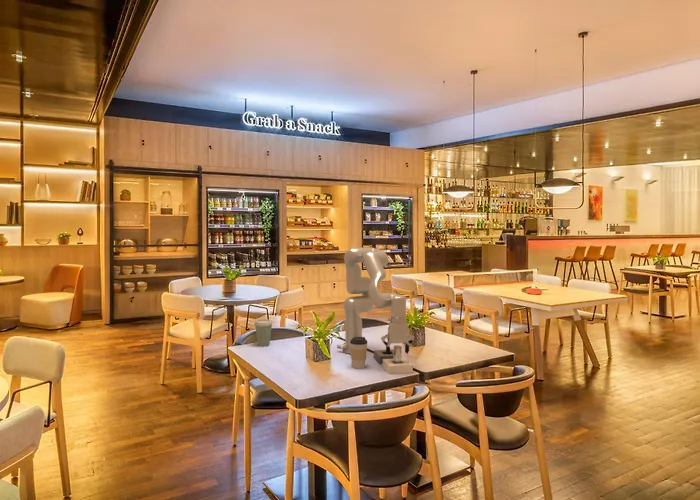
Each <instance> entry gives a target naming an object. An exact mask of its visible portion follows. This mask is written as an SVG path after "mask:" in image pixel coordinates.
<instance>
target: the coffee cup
mask: <svg viewBox="0 0 700 500" xmlns="http://www.w3.org/2000/svg"><path fill="white" fill-rule="evenodd" d="M350 344H351V347H350V349H351V354H350V360H351V367H352V368H353V369H359V370H361V369H364V368H366V359H367V352H368V351H367V350H368V339H366V337H365V336H362V337H354V338H352V340H351V341H350Z"/></svg>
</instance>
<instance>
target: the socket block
mask: <svg viewBox="0 0 700 500" xmlns="http://www.w3.org/2000/svg"><path fill="white" fill-rule="evenodd" d="M413 365H414V364H412V362H410V361H409V360H408V359H407V358H405V357H402V358H401V363H400V364H393V359H383V364H381V366H382V368H383V369H384V370H385V371H386V372H387V373H388V374H389V375H397V374H398V375H400V374H413V372H414V371H413V370H414V369H413V367H414V366H413Z"/></svg>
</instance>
